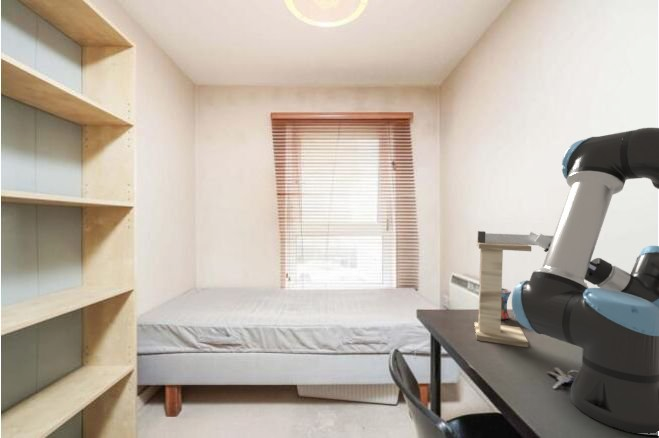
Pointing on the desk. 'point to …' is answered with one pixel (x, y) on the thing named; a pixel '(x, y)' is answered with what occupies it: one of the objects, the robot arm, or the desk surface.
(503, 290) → the multicoloured narrow piece
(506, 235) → the metal block
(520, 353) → the desk surface
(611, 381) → the robot arm
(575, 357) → the desk surface
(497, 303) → the birch stand
